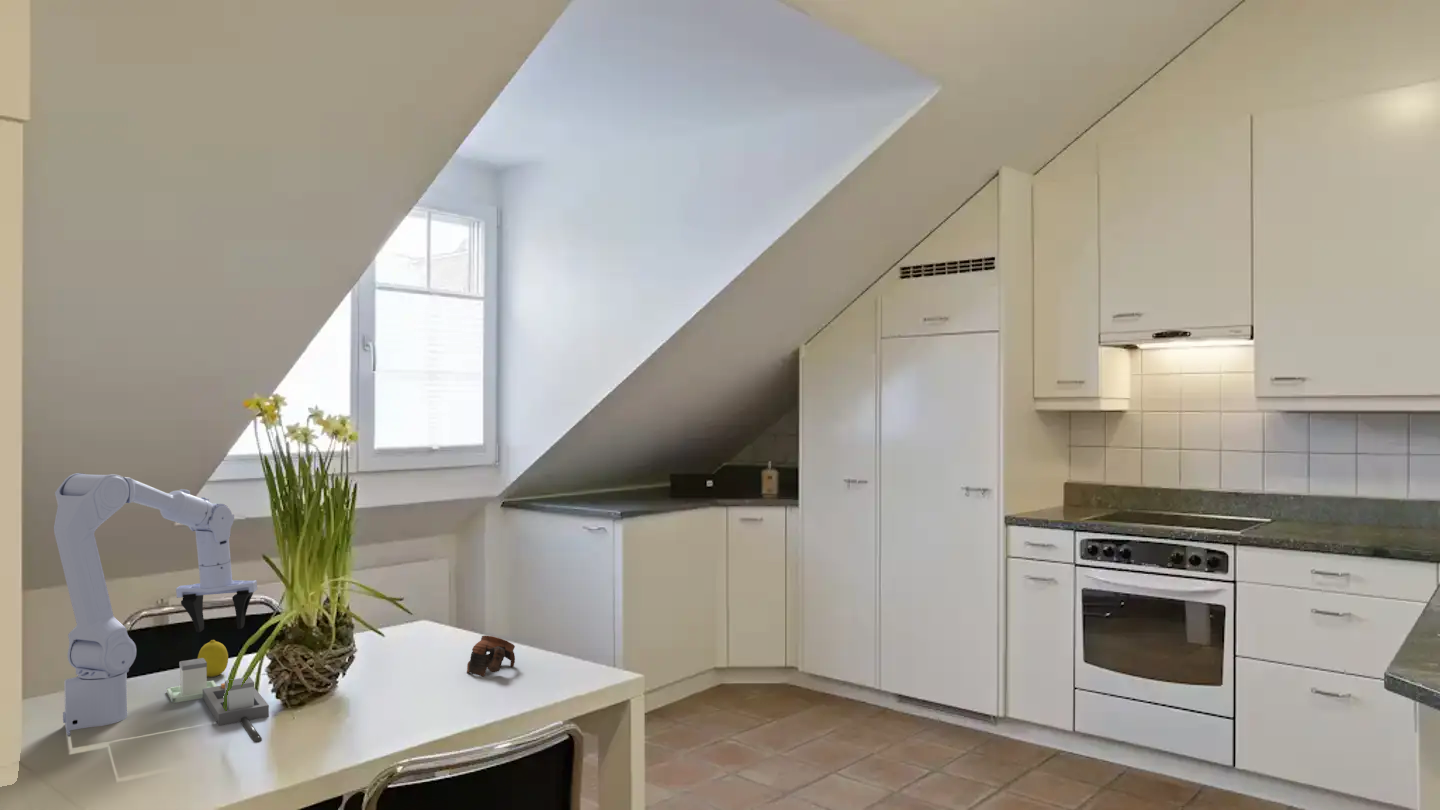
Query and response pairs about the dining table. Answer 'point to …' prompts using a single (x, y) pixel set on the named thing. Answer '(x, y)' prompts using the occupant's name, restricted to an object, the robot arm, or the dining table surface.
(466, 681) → the dining table surface
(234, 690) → the twin plug
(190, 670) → the plug
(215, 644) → the lemon
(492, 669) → the brown belt with pouches
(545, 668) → the dining table surface
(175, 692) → the tray
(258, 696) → the power strip
